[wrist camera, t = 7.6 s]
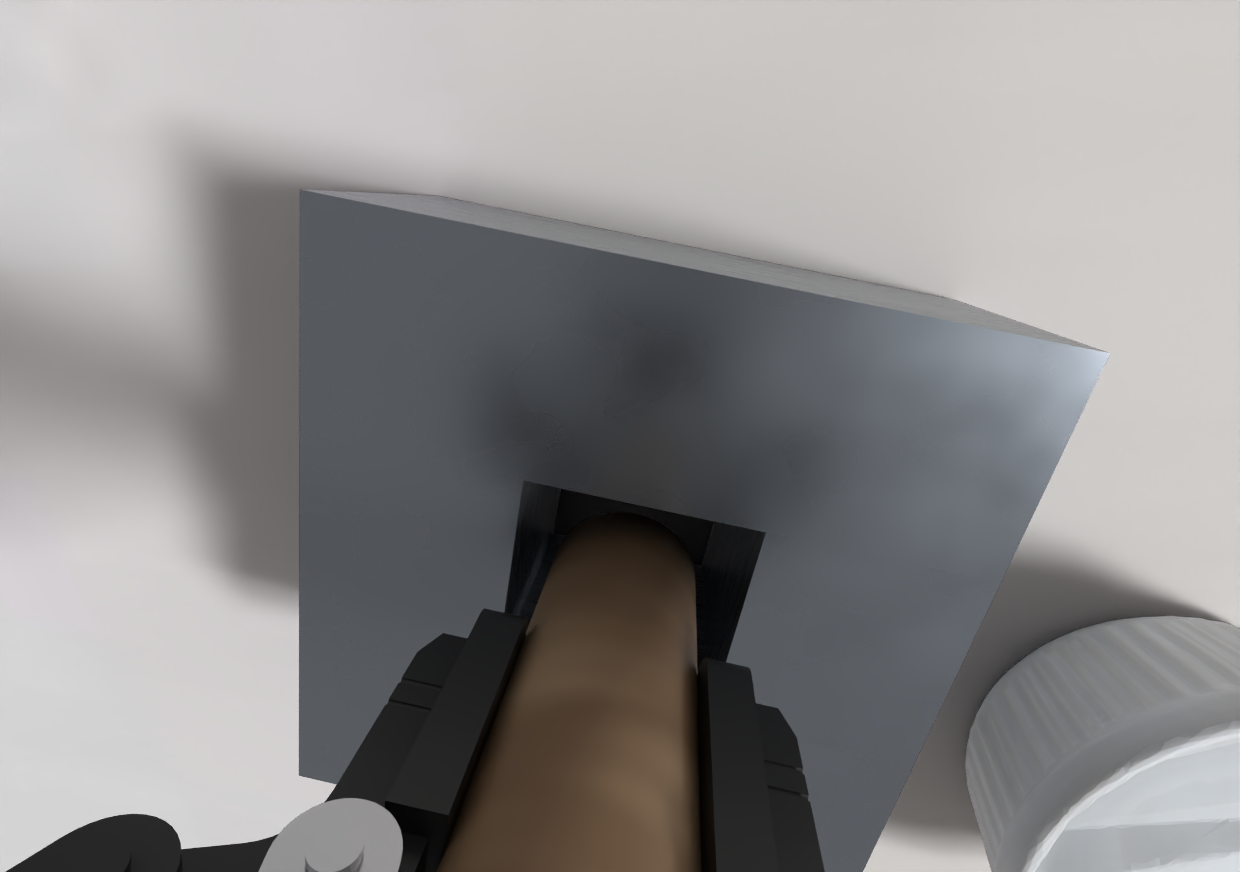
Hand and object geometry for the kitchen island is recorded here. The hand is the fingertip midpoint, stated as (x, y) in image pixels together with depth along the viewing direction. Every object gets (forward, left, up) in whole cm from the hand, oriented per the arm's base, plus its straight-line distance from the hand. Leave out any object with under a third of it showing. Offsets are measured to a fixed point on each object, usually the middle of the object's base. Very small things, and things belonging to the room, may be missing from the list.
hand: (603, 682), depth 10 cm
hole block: (0, 0, -8) cm, 8 cm away
